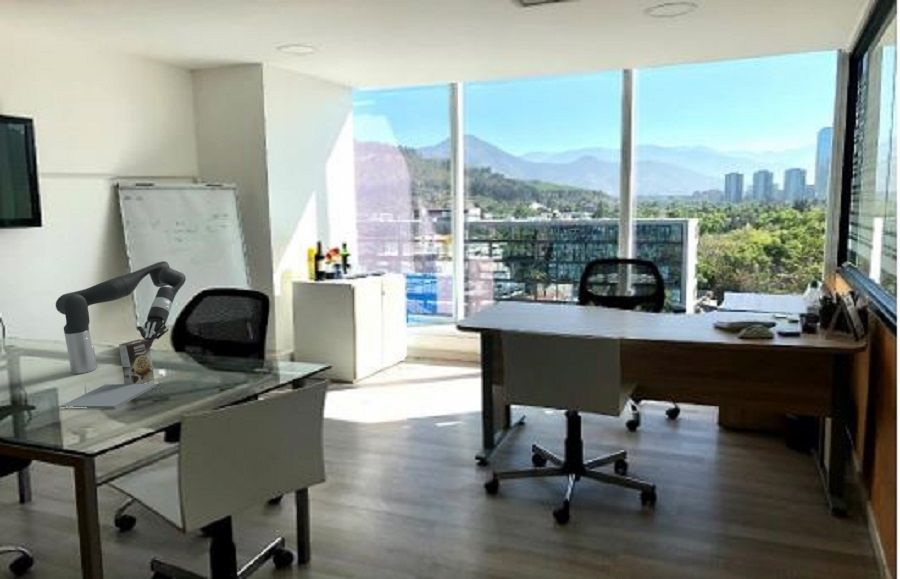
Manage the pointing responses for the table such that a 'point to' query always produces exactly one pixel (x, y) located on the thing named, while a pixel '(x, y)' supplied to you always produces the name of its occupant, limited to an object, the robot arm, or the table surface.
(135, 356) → the coffee box
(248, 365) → the table surface
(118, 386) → the mat
